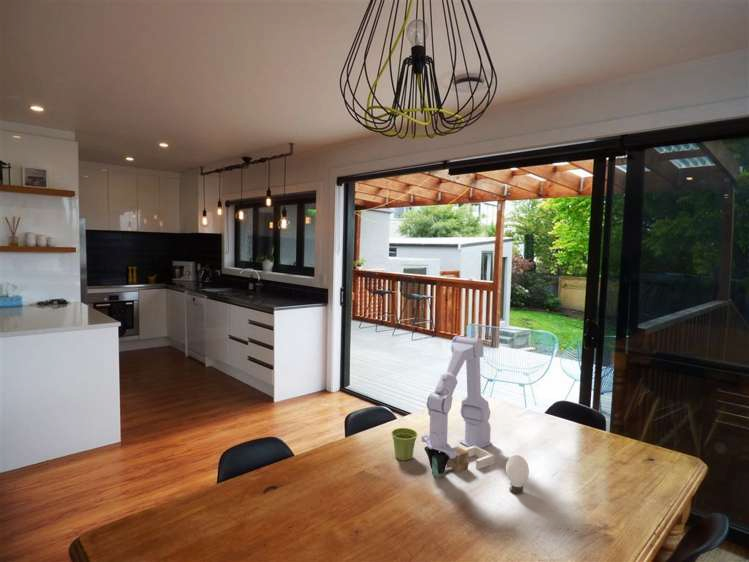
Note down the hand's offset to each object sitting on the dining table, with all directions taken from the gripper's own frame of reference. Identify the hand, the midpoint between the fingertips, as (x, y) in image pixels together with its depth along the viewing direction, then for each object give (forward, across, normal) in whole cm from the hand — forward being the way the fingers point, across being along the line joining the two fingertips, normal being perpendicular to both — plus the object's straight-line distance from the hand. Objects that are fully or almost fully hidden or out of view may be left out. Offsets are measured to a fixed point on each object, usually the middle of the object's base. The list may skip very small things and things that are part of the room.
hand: (437, 470), depth 144 cm
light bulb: (+2, +20, +14) cm, 25 cm away
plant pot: (+2, -16, -2) cm, 16 cm away
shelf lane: (+2, 0, +18) cm, 18 cm away
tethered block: (+2, 0, +5) cm, 5 cm away
